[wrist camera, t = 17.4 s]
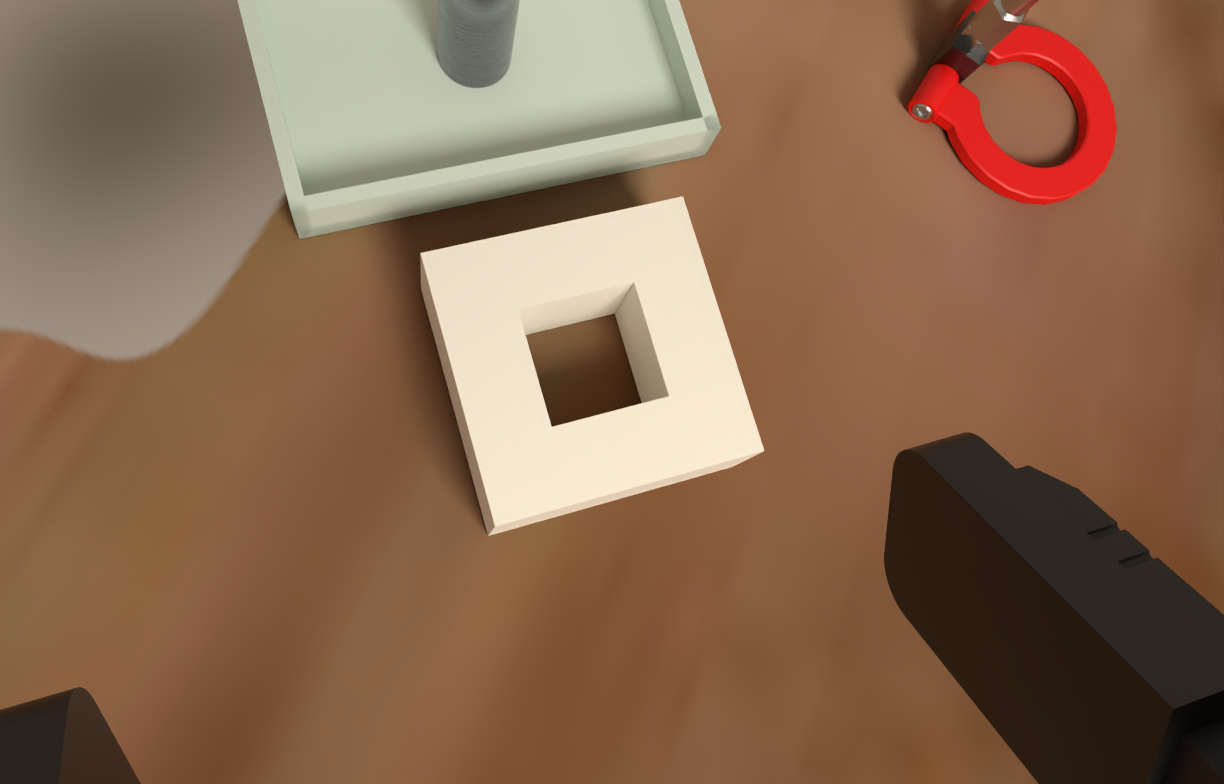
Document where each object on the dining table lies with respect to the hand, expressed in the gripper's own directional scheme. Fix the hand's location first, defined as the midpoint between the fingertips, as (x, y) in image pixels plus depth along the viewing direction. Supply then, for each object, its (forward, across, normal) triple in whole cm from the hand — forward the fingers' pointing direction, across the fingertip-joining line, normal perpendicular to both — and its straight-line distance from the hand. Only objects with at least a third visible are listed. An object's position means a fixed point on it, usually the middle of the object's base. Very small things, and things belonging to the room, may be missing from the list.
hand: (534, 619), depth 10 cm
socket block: (+26, -7, +15) cm, 30 cm away
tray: (+36, -6, +5) cm, 37 cm away
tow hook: (+31, -30, +10) cm, 44 cm away
